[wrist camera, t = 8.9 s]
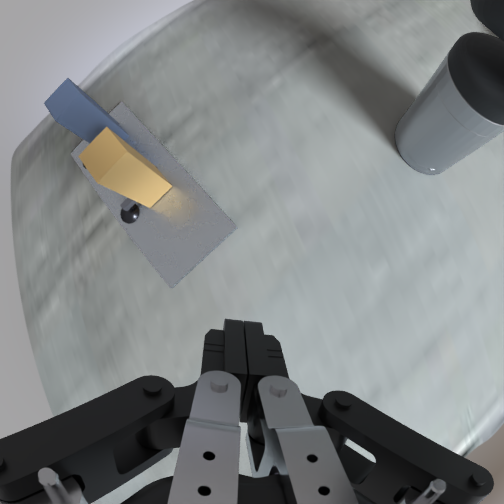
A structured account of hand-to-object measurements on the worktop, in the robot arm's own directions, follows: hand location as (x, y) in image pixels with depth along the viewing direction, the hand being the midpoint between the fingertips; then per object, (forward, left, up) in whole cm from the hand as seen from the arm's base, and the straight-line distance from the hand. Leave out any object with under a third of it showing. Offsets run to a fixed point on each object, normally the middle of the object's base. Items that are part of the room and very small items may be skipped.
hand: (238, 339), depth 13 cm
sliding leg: (-4, -20, -25) cm, 32 cm away
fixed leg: (-8, -30, -25) cm, 39 cm away
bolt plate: (-5, -21, -26) cm, 34 cm away
